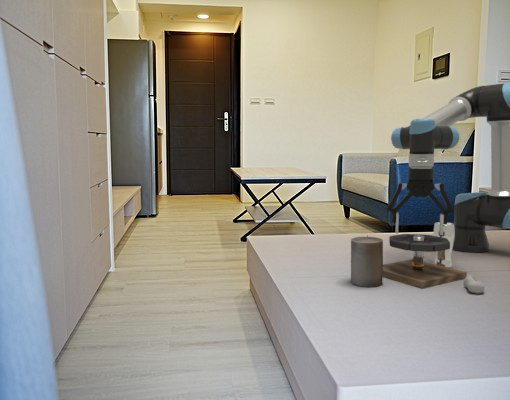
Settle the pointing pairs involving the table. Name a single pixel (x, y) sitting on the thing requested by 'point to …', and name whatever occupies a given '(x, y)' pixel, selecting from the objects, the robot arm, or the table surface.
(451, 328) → the table surface
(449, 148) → the robot arm
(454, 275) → the walnut base
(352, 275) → the pillar candle
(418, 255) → the steel post
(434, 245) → the dark grey faceted disc
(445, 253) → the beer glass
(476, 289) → the smooth white sculpture
